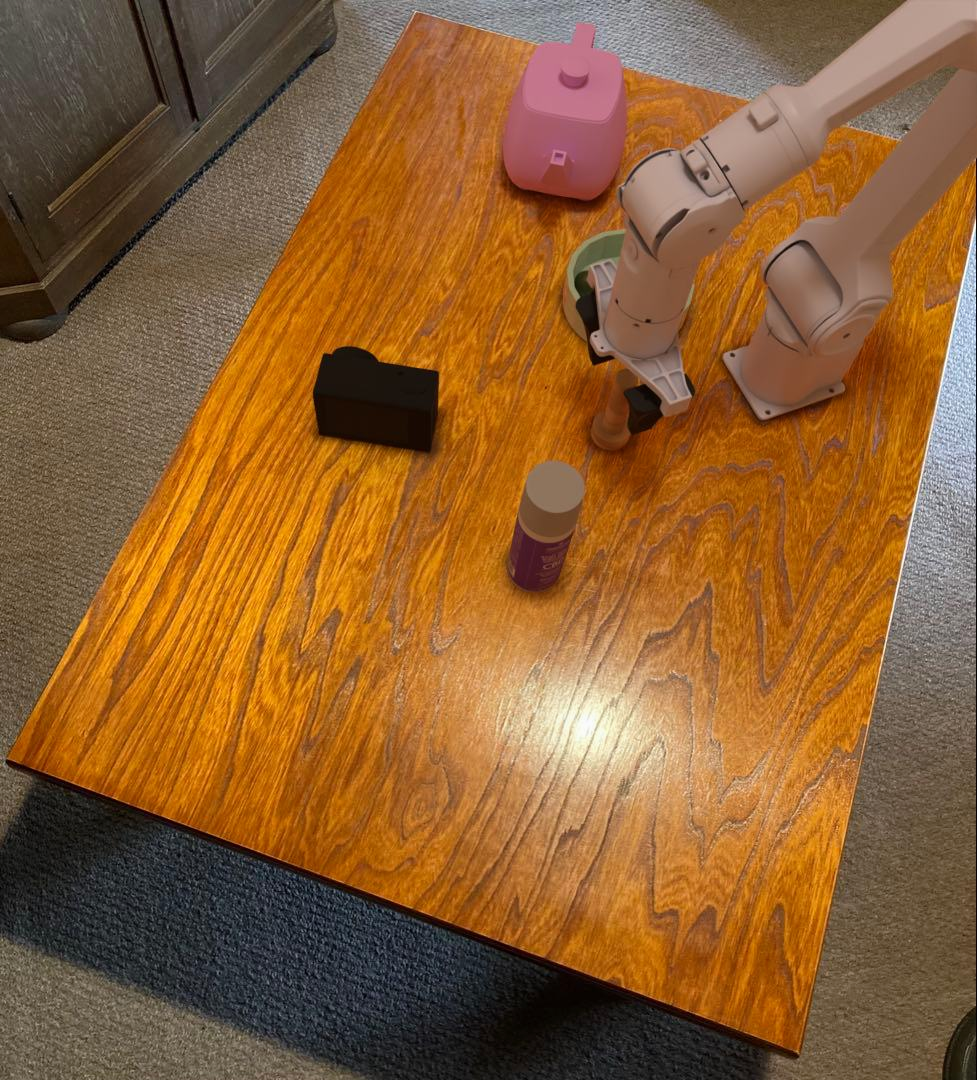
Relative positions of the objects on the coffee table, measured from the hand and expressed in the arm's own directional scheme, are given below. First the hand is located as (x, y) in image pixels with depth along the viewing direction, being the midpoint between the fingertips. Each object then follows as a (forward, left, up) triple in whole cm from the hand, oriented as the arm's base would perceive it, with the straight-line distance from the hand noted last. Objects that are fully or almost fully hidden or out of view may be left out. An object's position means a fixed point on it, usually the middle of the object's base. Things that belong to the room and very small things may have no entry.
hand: (620, 393), depth 94 cm
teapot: (-10, -32, -7) cm, 34 cm away
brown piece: (0, 0, -7) cm, 7 cm away
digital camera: (+19, -9, -7) cm, 22 cm away
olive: (-5, -16, -5) cm, 17 cm away
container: (+12, +10, -7) cm, 17 cm away
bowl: (-8, -13, -7) cm, 17 cm away
